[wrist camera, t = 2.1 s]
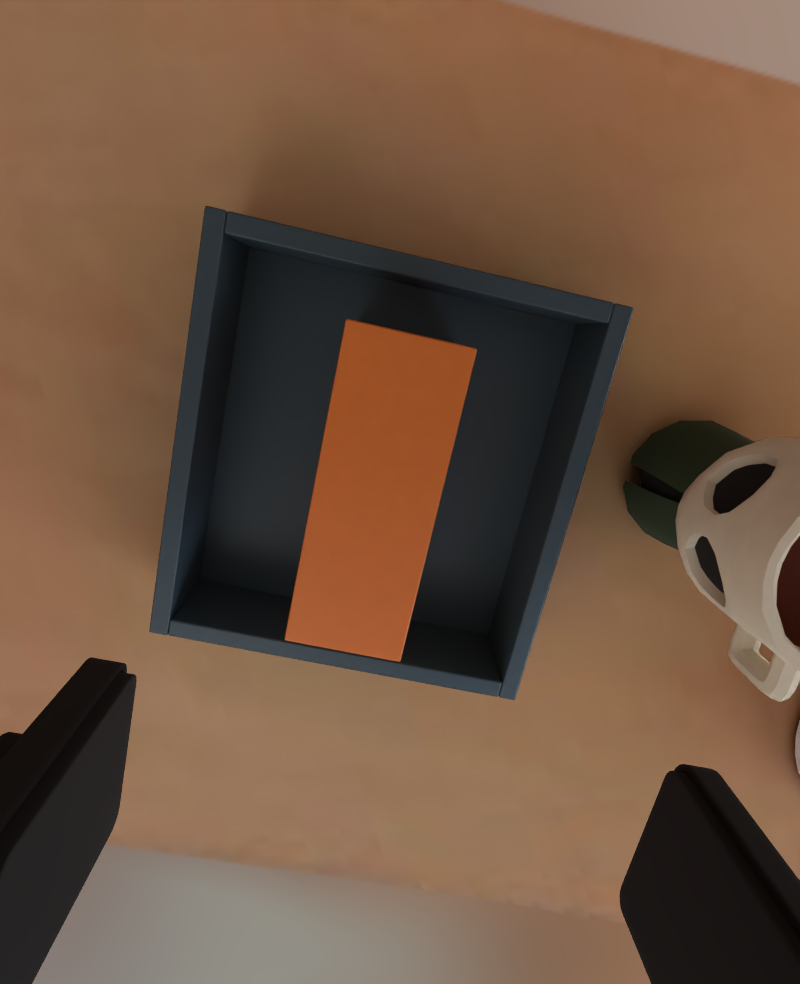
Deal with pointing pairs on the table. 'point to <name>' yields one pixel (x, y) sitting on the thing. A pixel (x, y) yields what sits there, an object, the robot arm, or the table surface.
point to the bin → (300, 429)
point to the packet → (377, 488)
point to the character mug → (731, 534)
